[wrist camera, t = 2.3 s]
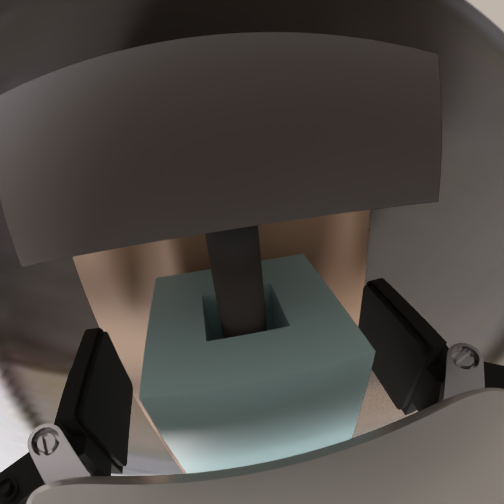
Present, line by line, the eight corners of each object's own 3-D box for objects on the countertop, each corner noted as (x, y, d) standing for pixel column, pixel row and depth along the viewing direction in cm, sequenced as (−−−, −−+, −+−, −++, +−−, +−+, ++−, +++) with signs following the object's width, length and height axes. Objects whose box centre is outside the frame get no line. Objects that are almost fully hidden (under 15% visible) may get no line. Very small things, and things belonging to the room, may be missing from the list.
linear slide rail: (57, 119, 9) (-76, 142, 3) (349, 81, 11) (493, 73, 4) (191, 471, 21) (200, 544, 14) (325, 445, 23) (354, 512, 16)
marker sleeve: (155, 277, 10) (139, 398, 5) (302, 253, 10) (375, 351, 6) (187, 379, 12) (195, 484, 8) (303, 357, 13) (346, 452, 8)
